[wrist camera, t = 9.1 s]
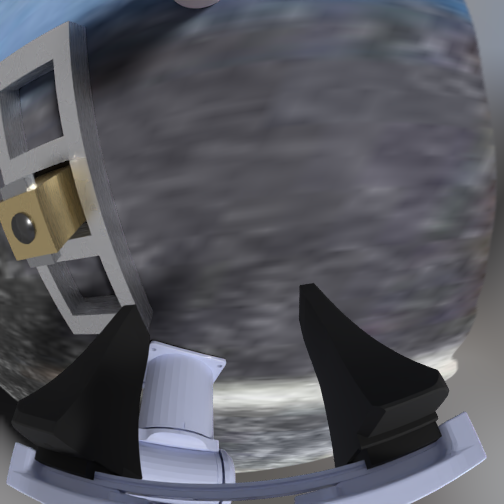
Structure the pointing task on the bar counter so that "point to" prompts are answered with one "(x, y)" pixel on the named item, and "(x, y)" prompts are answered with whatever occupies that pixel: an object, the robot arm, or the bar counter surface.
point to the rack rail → (84, 172)
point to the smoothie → (196, 3)
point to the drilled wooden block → (41, 215)
